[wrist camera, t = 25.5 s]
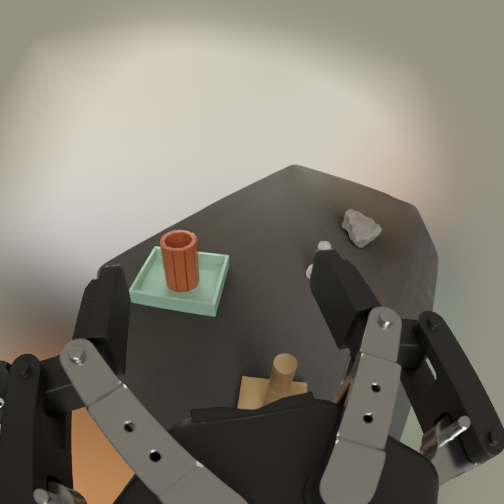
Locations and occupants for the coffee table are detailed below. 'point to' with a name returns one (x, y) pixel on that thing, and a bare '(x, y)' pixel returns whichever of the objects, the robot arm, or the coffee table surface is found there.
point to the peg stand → (271, 384)
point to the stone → (360, 228)
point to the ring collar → (180, 260)
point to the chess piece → (321, 246)
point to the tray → (195, 301)
